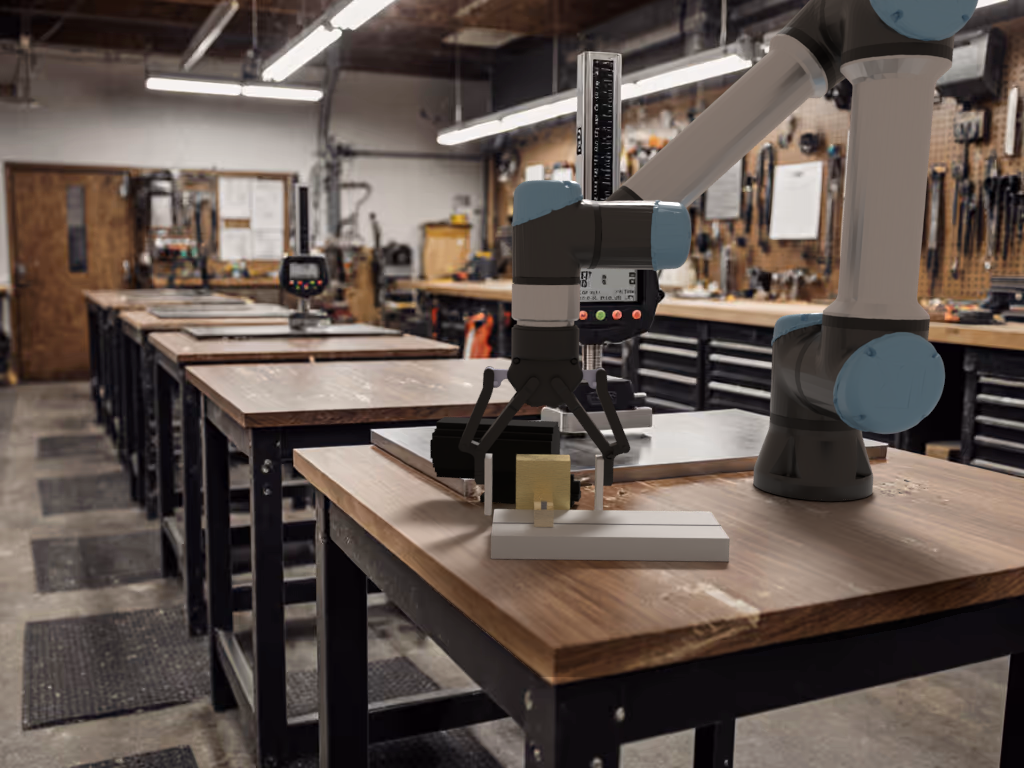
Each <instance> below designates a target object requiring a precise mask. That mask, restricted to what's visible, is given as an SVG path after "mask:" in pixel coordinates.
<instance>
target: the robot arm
mask: <svg viewBox="0 0 1024 768" xmlns="http://www.w3.org/2000/svg"><path fill="white" fill-rule="evenodd" d="M978 3H979V0H809V1H808V2H807V3H806V4H805V5H804V6H803V7H802V8H801V9H800V10H798V12H797V13H796V14H795V15H794V16H793V17H792V18H791V20H790V21H788V23H786V24H785V25H784V27H783V28H781V29H780V30H779V31H778V32H777V33H776V34H775V35H774V36H773V37H771V39H770V41H769V46H768V52H767V53H766V54H765V55H764V56H763V57H762V58H761V59H759V60H758V61H757V62H756V63H755V64H754V65H753V66H752V67H751V68H749V70H747V71H746V72H745V73H744V74H743V75H742V76H741V77H740V78H739V79H738V80H736V81H735V82H734V83H733V84H732V85H731V86H729V88H727V89H726V90H725V91H724V92H723V93H722V94H721V95H720V96H719V97H718V98H716V99H715V100H714V101H713V102H712V103H711V104H710V105H709V106H707V108H705V109H704V110H703V111H702V112H700V114H699V115H697V117H695V118H694V120H693V119H692V121H691V122H690V123H689V124H688V125H687V126H686V127H684V128H683V129H682V130H681V131H680V132H679V133H678V134H676V136H675V137H673V138H672V139H671V140H670V141H669V142H668V143H667V144H665V145H664V146H663V147H662V148H661V149H660V150H659V151H658V152H657V153H656V154H655V155H653V157H651V158H650V159H648V161H647V162H646V163H645V164H643V166H641V167H640V168H639V169H638V170H637V171H636V172H635V173H633V174H632V176H630V177H629V178H628V179H627V180H625V182H623V184H621V186H620V187H618V189H616V190H615V191H614V192H613V193H612V194H610V195H609V196H608V197H607V198H606V199H605V200H598V201H597V200H591V199H584V195H583V192H582V191H583V190H582V185H581V184H580V182H577V181H574V180H561V179H560V180H559V179H537V180H535V179H533V180H532V179H531V180H526V181H523V182H521V183H519V184H518V185H517V186H516V187H515V189H514V191H513V207H512V209H513V210H512V211H513V212H512V221H511V224H510V225H511V245H512V246H511V259H512V260H511V261H512V264H511V265H512V266H511V269H512V271H511V274H512V275H511V276H512V279H511V280H512V282H511V318H512V319H513V320H514V321H516V324H514V325H513V327H511V363H510V365H509V367H508V368H494V367H493V366H491V365H490V366H486V367H485V368H484V370H483V373H482V374H483V375H482V388H481V390H480V394H479V396H478V398H477V401H476V403H475V404H474V407H473V410H472V412H471V415H470V417H469V418H470V419H469V421H468V424H467V426H466V428H465V431H464V433H463V435H462V438H461V440H460V443H459V446H458V447H459V450H460V451H462V452H467V453H470V454H472V455H473V456H474V459H475V479H474V482H475V485H478V486H479V485H484V492H485V502H484V516H492V510H493V503H492V454H486V452H487V451H488V450H489V449H490V447H491V446H492V445H493V443H494V442H495V441H496V439H497V438H498V437H499V435H500V434H501V433H502V431H503V430H504V429H505V428H506V426H507V425H508V424H509V422H510V421H511V420H513V419H514V417H515V416H516V415H517V413H518V412H519V411H520V410H521V409H522V407H523V406H524V405H527V406H530V407H531V408H539V407H543V406H547V407H550V408H559V407H561V406H562V405H564V404H565V406H566V407H567V408H568V409H569V410H570V412H571V413H572V414H573V416H574V418H576V420H577V422H578V423H579V424H580V425H581V427H582V428H583V430H584V431H585V432H586V434H587V435H588V436H589V438H590V440H592V442H593V443H594V445H595V446H596V448H598V450H599V451H600V453H601V454H595V457H594V463H595V464H594V466H595V467H594V501H593V502H594V506H593V508H594V509H593V510H604V487H611V486H612V485H613V484H614V461H615V458H616V457H618V455H623V454H628V453H629V452H630V451H631V445H630V442H629V440H628V438H627V435H626V433H625V430H624V428H623V425H622V423H621V420H620V418H619V415H618V413H617V410H616V407H615V405H614V403H613V400H612V398H611V395H610V392H609V390H608V372H607V370H605V368H603V367H601V366H599V367H596V368H595V369H582V367H581V365H580V328H579V327H578V325H577V324H576V323H575V321H578V320H579V319H580V313H581V311H580V310H581V307H580V306H581V305H580V304H581V303H580V302H581V299H580V298H581V271H582V269H586V270H595V269H603V270H652V271H654V272H657V271H661V270H676V269H679V268H681V267H682V266H684V264H685V263H686V261H687V260H688V257H689V254H690V249H691V244H692V243H691V242H692V222H691V216H690V213H689V210H688V209H687V208H688V207H689V206H691V205H692V203H694V202H695V201H696V200H697V199H698V198H699V197H700V196H702V195H703V194H704V193H705V192H706V191H707V190H708V189H709V188H711V187H712V186H713V185H714V184H715V183H716V182H717V181H718V180H719V179H720V178H722V177H723V176H724V175H725V174H726V173H727V172H728V171H730V170H731V169H732V168H733V167H734V166H735V165H736V164H737V163H738V162H740V161H741V160H742V159H744V157H745V156H746V155H748V154H749V152H751V150H753V149H754V148H755V147H756V146H757V145H758V144H759V143H761V141H764V139H765V138H767V136H768V135H769V134H770V133H771V132H773V131H774V130H775V129H776V128H778V126H779V125H781V124H782V123H783V122H784V121H785V120H786V119H788V117H790V116H791V115H792V114H793V113H794V112H795V111H796V110H797V109H798V108H799V107H801V106H802V105H803V104H804V103H805V102H806V101H807V100H809V99H820V98H823V97H824V96H825V95H826V94H827V93H829V92H830V90H832V89H833V88H834V87H835V86H837V85H838V84H839V83H841V82H842V81H844V80H845V79H847V81H849V83H850V84H851V85H852V91H851V92H852V94H851V95H852V96H851V105H850V120H849V121H850V123H849V134H848V148H847V149H848V150H847V162H846V164H847V165H846V174H845V175H846V177H845V190H844V191H845V192H844V204H843V218H842V229H841V230H842V231H841V242H840V243H841V244H840V256H839V257H840V261H839V272H838V273H839V274H838V285H837V288H838V289H837V296H836V299H835V300H833V301H832V302H831V303H830V304H829V305H827V306H826V307H825V308H824V309H823V310H822V312H811V313H795V314H794V313H793V314H786V315H783V316H780V317H779V318H778V319H777V320H776V322H775V323H774V328H773V335H772V338H771V343H770V344H771V348H772V350H771V351H772V352H771V371H770V374H771V375H770V378H771V379H770V397H769V399H770V401H769V422H768V423H769V425H768V430H767V432H766V435H765V437H764V439H763V443H762V445H761V448H760V451H759V453H758V456H757V459H756V461H755V463H754V467H753V478H752V479H753V483H752V484H753V486H755V487H756V488H758V489H759V490H762V491H764V492H766V493H769V494H773V495H776V496H782V497H786V498H792V499H799V500H809V501H822V502H828V501H829V502H835V501H836V502H837V501H838V502H839V501H840V502H844V501H854V500H859V499H860V500H861V499H864V498H867V497H869V496H871V495H872V494H873V493H874V492H873V489H874V474H873V470H872V466H871V463H870V462H871V461H870V458H869V455H868V453H867V452H868V451H867V449H866V445H865V442H864V438H863V432H867V433H868V432H870V433H875V434H882V435H890V434H898V433H901V432H905V431H908V430H909V429H912V428H913V427H915V426H917V425H919V423H920V422H922V420H924V419H925V418H926V417H928V416H929V415H930V414H931V412H933V410H934V409H935V407H936V406H937V404H938V402H939V401H940V399H941V397H942V394H943V391H944V387H945V386H944V385H945V379H946V372H945V365H944V361H943V359H942V357H941V354H939V353H938V352H937V350H936V347H935V346H934V345H933V344H932V343H931V342H930V341H929V335H930V322H931V316H930V314H929V312H927V310H926V309H925V308H924V307H923V306H922V305H921V304H920V303H919V300H918V290H919V280H920V279H919V278H920V277H919V276H920V268H921V267H920V266H921V256H922V243H923V232H924V219H925V209H926V196H927V195H926V194H927V187H928V185H927V184H928V182H927V181H928V173H929V164H930V163H929V162H930V161H929V159H930V152H931V151H930V149H931V138H932V137H931V136H932V125H933V116H934V103H935V101H934V100H935V92H936V91H935V89H936V85H937V82H938V81H939V80H940V78H941V77H943V76H944V75H945V74H946V73H947V72H948V71H949V70H951V68H952V66H953V56H954V46H955V35H956V34H957V33H958V32H959V31H960V30H962V29H963V28H964V27H965V26H966V24H967V23H968V21H969V20H970V19H971V18H972V17H973V15H974V13H975V11H976V9H977V6H978ZM504 380H507V381H508V382H509V384H510V385H511V387H512V388H513V389H514V391H515V393H514V395H513V396H512V397H511V399H510V400H509V401H508V403H507V404H506V406H504V408H503V409H502V411H501V412H500V413H499V415H498V416H497V417H496V418H495V419H496V420H495V421H494V423H493V424H492V425H491V427H490V428H489V429H488V431H487V432H486V433H485V435H484V436H483V437H482V439H481V440H480V441H479V443H478V442H475V441H472V440H473V438H474V435H475V433H476V431H477V428H478V426H479V424H480V421H481V419H483V416H484V414H485V412H486V410H487V408H488V405H489V403H490V400H491V398H492V395H493V392H494V389H498V388H499V387H500V386H501V385H502V383H503V381H504ZM583 380H585V381H586V382H587V383H588V387H590V388H591V389H593V390H595V392H596V395H597V396H598V397H597V398H598V400H599V403H600V405H601V407H602V410H603V412H604V415H605V417H606V419H607V420H606V421H608V425H609V427H610V429H611V432H612V434H613V437H614V439H615V441H614V442H611V443H609V440H607V438H606V437H605V436H604V433H602V432H601V430H600V429H599V428H598V426H597V424H596V423H595V421H594V420H593V419H592V417H591V416H590V415H589V414H588V412H587V411H586V409H585V408H584V406H583V405H582V403H581V402H580V401H579V400H578V398H577V396H576V395H575V393H574V392H575V391H576V390H577V388H578V387H579V385H581V382H583Z"/></svg>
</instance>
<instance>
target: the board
mask: <svg viewBox="0 0 1024 768" xmlns="http://www.w3.org/2000/svg"><path fill="white" fill-rule="evenodd" d="M730 540H731V538H730V537H729V535H728V534H727V533H726V530H724V529H723V527H722V525H721V524H720V523H719V521H718V520H717V518H716V517H715V515H714V513H712V511H711V510H710V511H708V510H707V511H703V510H702V511H701V510H699V511H697V510H695V511H694V510H619V509H617V510H615V509H614V510H612V509H609V510H607V509H606V510H604V509H603V510H594V509H570V510H554V521H553V527H534V510H531V509H516V508H515V509H512V508H511V509H510V508H509V509H507V508H494V509H493V518H492V525H491V533H490V559H491V560H492V559H493V560H495V559H496V560H497V559H498V560H500V559H501V560H507V559H508V560H564V561H565V560H568V561H569V560H570V561H571V560H573V561H574V560H575V561H577V560H578V561H581V560H583V561H587V560H588V561H647V562H648V561H653V562H657V561H661V562H663V561H664V562H729V561H730Z"/></svg>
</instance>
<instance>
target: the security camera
mask: <svg viewBox="0 0 1024 768" xmlns="http://www.w3.org/2000/svg"><path fill="white" fill-rule="evenodd" d="M469 419H470V417H456V416H455V417H454V416H453V417H451V416H444V417H442V418H441V419H439V420H438V421H436V423H435V426H436V427H435V428H434V431H433V432H431V439H430V440H429V441H430V442H429V443H430V447H429V448H430V449H429V450H430V455H429V457H430V459H431V461H432V462H431V463H432V469H434V473H435V474H436V478H449V479H462V480H463V479H464V480H465V479H467V480H469V479H470V480H475V459H474V456H473V455H472V454H470V453H467V452H462V451H460V450H459V447H458V446H459V443H460V440H461V438H462V435H463V433H464V431H465V428H466V426H467V424H468V421H469ZM496 419H497V418H482V419H481V421H480V424H479V426H478V428H477V431H476V433H475V435H474V438H473V440H472V441H475V442H478V443H479V441H480V440H481V439H482V437H483V436H484V435H485V433H486V432H487V431H488V429H489V428H490V427H491V425H492V424H493V423H494V421H495V420H496ZM486 454H492V504H503V505H504V504H505V505H509V504H510V505H516V456H517V454H538V455H561V431H560V426H559V421H553V420H552V421H551V420H549V421H548V420H527V419H526V420H525V419H512V420H511V421H510V422H509V424H508V425H507V426H506V428H505V429H504V430H503V431H502V433H501V434H500V435H499V437H498V438H497V439H496V441H495V442H494V443H493V445H492V446H491V447H490V449H489V450H488V451H487V452H486ZM581 498H582V490H581V480H579V479H577V480H576V479H575V473H570V509H572V508H573V507H574V505H575V503H576V502H577V503H578V502H580V500H581ZM479 503H485V491H483V493H482V494H480V495H479Z"/></svg>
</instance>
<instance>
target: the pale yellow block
mask: <svg viewBox="0 0 1024 768" xmlns="http://www.w3.org/2000/svg"><path fill="white" fill-rule="evenodd" d="M571 465H572V464H571V456H570V454H560V455H538V454H517V456H516V504H515V509H531V510H534V527H553V521H554V510H571V508H570V474H571Z"/></svg>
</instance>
